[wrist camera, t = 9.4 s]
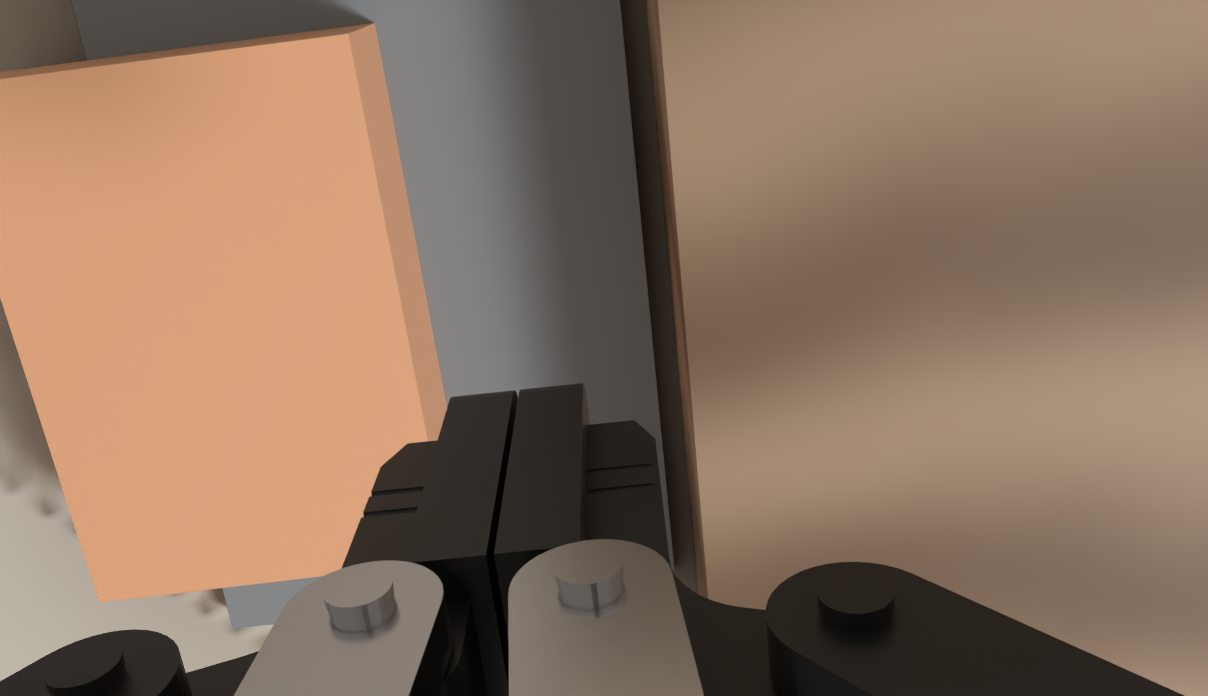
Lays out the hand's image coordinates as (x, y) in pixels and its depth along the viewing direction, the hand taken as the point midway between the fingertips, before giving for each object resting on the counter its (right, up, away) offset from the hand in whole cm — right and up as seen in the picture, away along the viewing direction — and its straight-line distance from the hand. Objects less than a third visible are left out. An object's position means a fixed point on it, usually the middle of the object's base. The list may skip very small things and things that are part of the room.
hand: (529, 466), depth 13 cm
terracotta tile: (-6, +2, +9) cm, 11 cm away
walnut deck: (+7, +4, +10) cm, 13 cm away
